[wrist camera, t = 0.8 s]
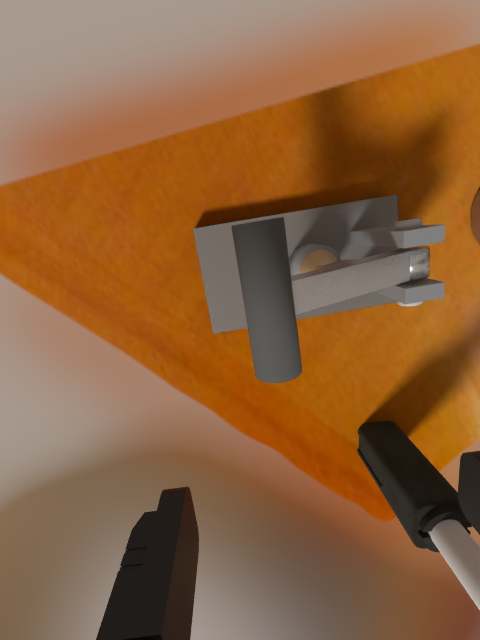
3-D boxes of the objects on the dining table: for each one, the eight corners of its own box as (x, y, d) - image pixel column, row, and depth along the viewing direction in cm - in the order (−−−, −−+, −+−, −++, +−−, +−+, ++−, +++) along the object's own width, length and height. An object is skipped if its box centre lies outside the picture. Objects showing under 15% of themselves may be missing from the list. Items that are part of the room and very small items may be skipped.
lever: (397, 198, 27) (441, 191, 23) (400, 314, 29) (440, 321, 26) (220, 228, 21) (245, 222, 17) (244, 369, 23) (270, 388, 20)
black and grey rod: (358, 424, 41) (553, 698, 17) (397, 420, 41) (646, 686, 17) (356, 457, 42) (536, 756, 18) (395, 454, 42) (621, 745, 18)
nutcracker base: (387, 196, 34) (473, 177, 22) (391, 297, 37) (468, 328, 25) (194, 228, 34) (180, 227, 22) (213, 328, 37) (210, 373, 25)
